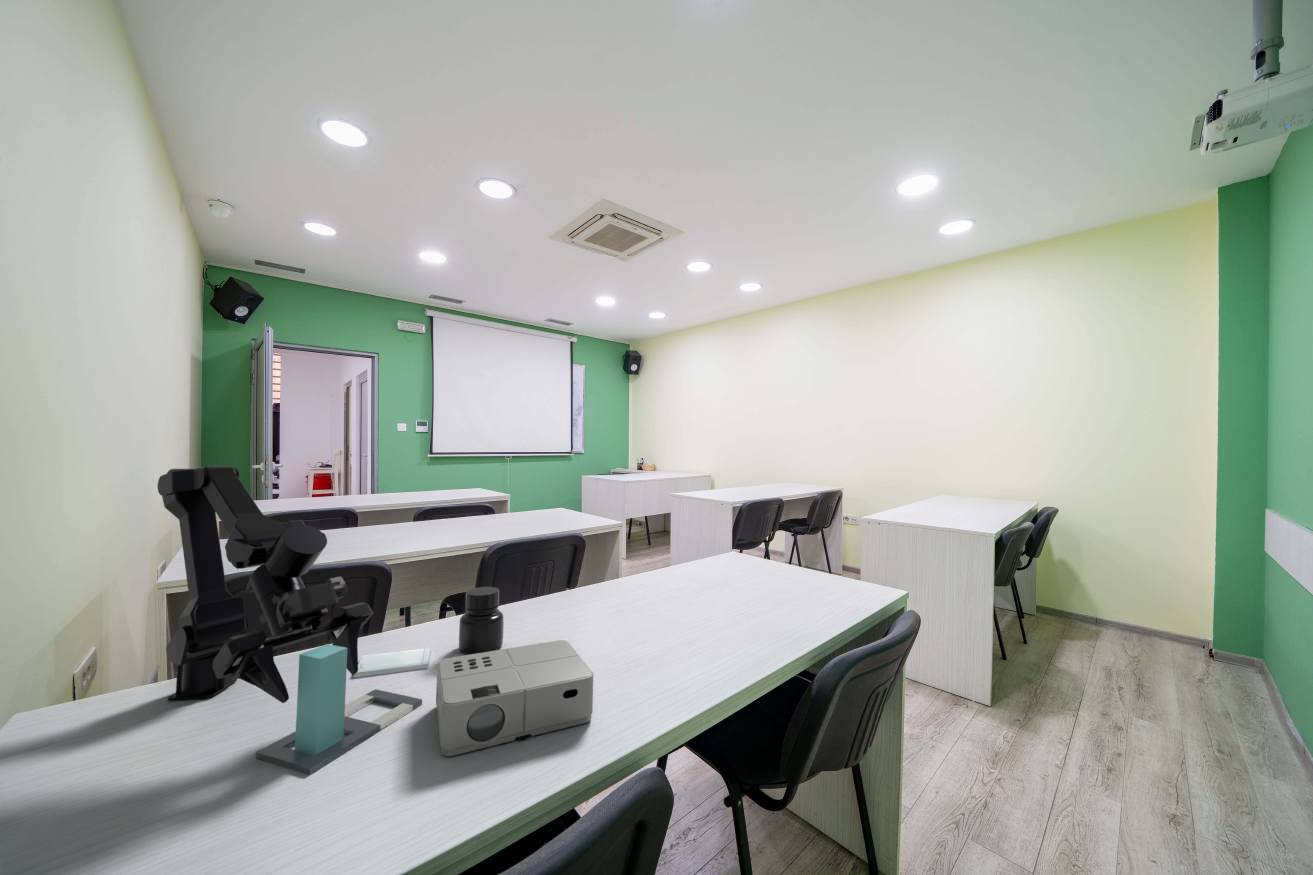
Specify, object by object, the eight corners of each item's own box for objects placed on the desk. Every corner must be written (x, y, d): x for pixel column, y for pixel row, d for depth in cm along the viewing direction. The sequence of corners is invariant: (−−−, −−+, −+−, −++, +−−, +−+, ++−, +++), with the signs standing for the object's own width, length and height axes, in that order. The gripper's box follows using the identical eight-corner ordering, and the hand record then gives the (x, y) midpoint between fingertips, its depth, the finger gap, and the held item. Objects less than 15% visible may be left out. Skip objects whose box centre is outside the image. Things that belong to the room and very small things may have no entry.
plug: (294, 749, 66) (299, 654, 66) (322, 734, 70) (327, 643, 70) (315, 755, 65) (320, 658, 65) (343, 739, 68) (347, 647, 69)
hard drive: (353, 672, 87) (428, 662, 92) (362, 654, 95) (431, 646, 100) (353, 681, 87) (428, 670, 92) (362, 662, 95) (431, 654, 99)
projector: (435, 706, 79) (436, 658, 79) (565, 679, 89) (566, 637, 89) (440, 764, 64) (442, 705, 64) (595, 725, 74) (596, 674, 74)
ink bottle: (509, 639, 107) (511, 585, 107) (497, 656, 98) (499, 597, 98) (465, 639, 106) (467, 585, 107) (449, 656, 97) (451, 596, 98)
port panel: (310, 774, 61) (310, 768, 61) (255, 757, 64) (256, 751, 64) (421, 704, 78) (422, 699, 79) (375, 693, 82) (375, 689, 82)
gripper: (228, 576, 62) (270, 680, 57) (368, 552, 79) (410, 630, 74) (195, 627, 65) (232, 731, 60) (337, 593, 82) (375, 672, 77)
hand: (322, 685), depth 67 cm, fingers open, 9 cm apart
